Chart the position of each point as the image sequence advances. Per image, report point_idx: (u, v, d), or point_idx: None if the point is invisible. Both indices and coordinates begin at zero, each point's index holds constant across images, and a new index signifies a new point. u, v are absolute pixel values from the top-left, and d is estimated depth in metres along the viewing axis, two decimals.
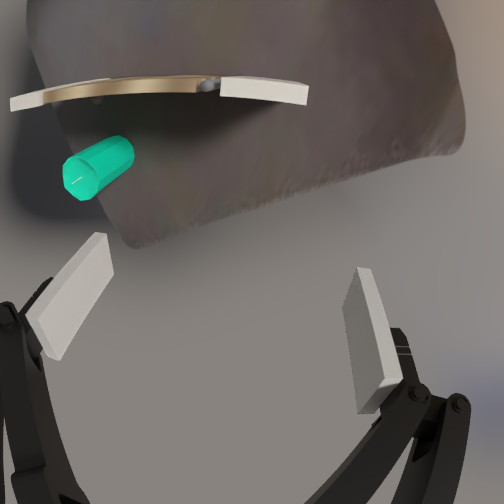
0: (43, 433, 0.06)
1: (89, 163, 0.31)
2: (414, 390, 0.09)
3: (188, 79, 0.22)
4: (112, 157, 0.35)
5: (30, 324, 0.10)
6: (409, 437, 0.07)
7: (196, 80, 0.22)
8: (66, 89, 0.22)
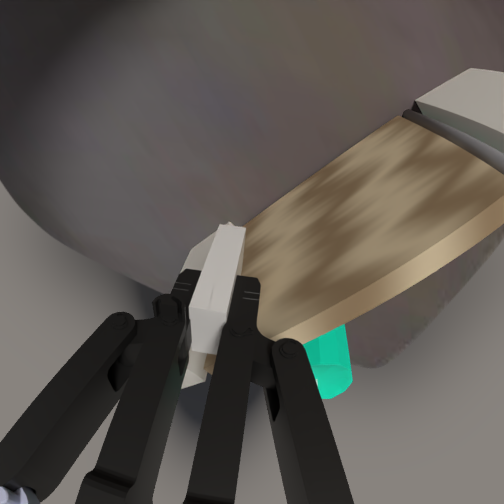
0: (150, 448, 0.07)
1: (325, 364, 0.21)
2: (233, 328, 0.11)
3: None
4: None
5: (189, 317, 0.12)
6: (249, 371, 0.09)
7: None
8: None
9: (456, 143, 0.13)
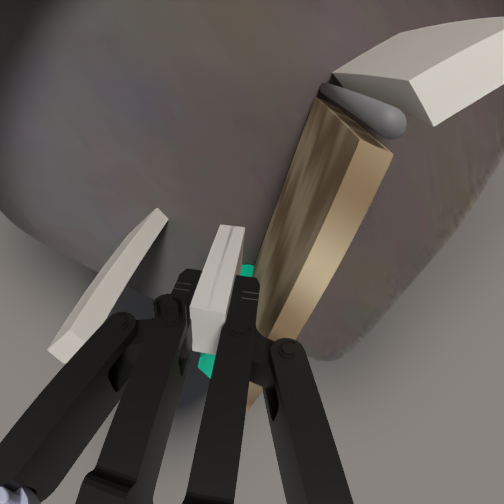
0: (150, 449, 0.07)
1: None
2: (232, 327, 0.11)
3: (353, 160, 0.09)
4: None
5: (190, 317, 0.12)
6: (248, 371, 0.09)
7: (363, 141, 0.08)
8: None
9: (338, 102, 0.13)
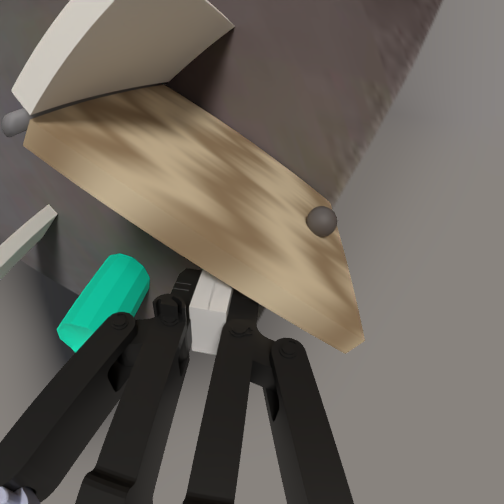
0: (150, 448, 0.07)
1: (76, 325, 0.22)
2: (233, 327, 0.11)
3: (34, 150, 0.09)
4: (107, 294, 0.26)
5: (190, 317, 0.12)
6: (248, 371, 0.09)
7: (25, 141, 0.09)
8: (293, 320, 0.12)
9: None
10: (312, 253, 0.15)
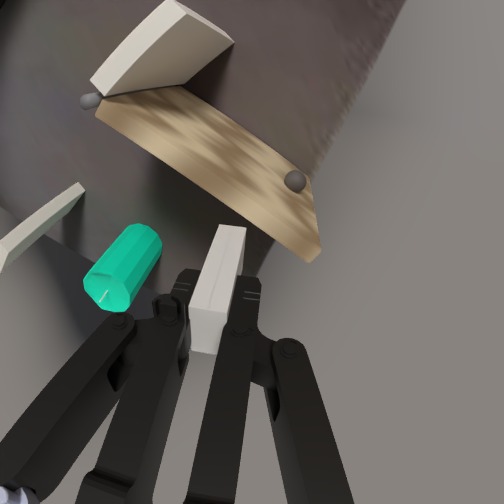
0: (149, 449, 0.07)
1: (101, 272, 0.29)
2: (233, 328, 0.11)
3: (103, 119, 0.16)
4: (128, 251, 0.32)
5: (189, 317, 0.12)
6: (249, 371, 0.09)
7: (96, 113, 0.16)
8: (269, 232, 0.19)
9: None
10: (285, 198, 0.22)
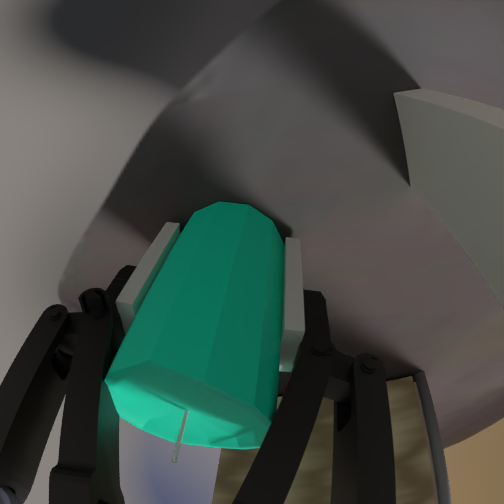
0: (102, 435, 0.07)
1: (258, 446, 0.09)
2: (314, 345, 0.10)
3: None
4: None
5: (118, 311, 0.11)
6: (322, 391, 0.09)
7: None
8: None
9: (441, 458, 0.15)
10: None
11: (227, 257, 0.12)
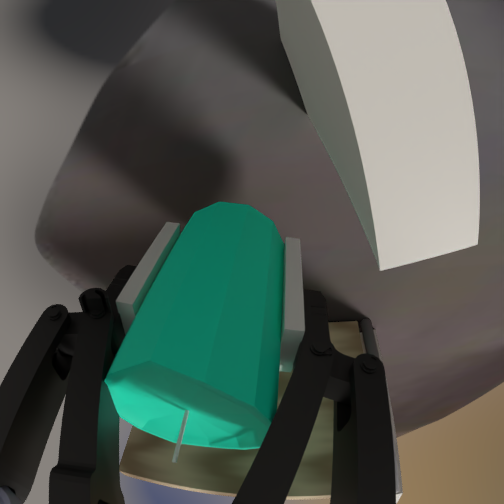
0: (102, 435, 0.07)
1: (259, 446, 0.09)
2: (314, 345, 0.10)
3: None
4: None
5: (118, 311, 0.11)
6: (322, 391, 0.09)
7: None
8: (163, 482, 0.15)
9: None
10: None
11: (227, 257, 0.12)
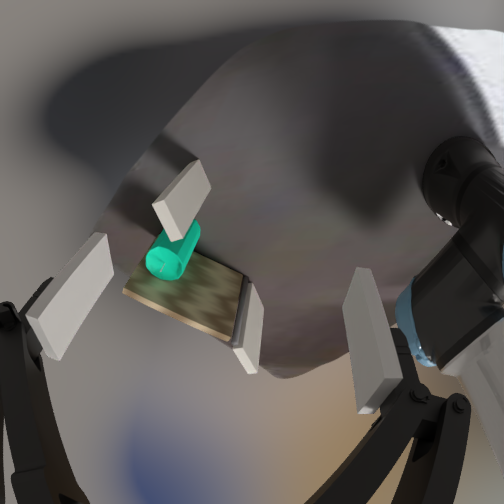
0: (43, 433, 0.06)
1: (181, 274, 0.43)
2: (414, 390, 0.09)
3: (226, 335, 0.43)
4: None
5: (30, 324, 0.10)
6: (409, 437, 0.07)
7: (230, 337, 0.43)
8: (144, 299, 0.41)
9: (239, 309, 0.48)
10: None
11: None
